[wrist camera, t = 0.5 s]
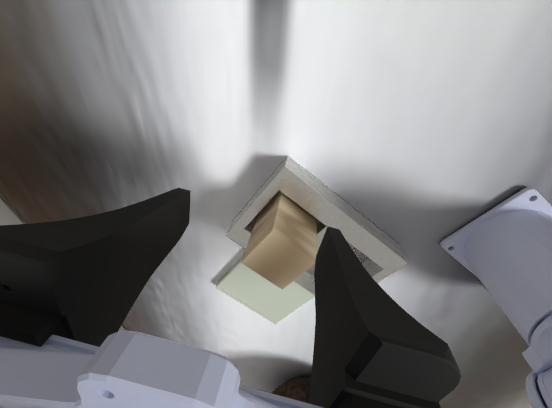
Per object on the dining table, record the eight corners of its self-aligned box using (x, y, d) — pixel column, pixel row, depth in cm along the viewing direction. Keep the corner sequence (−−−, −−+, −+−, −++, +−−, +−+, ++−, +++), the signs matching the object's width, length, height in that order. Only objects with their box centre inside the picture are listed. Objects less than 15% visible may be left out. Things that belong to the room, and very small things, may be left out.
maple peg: (316, 211, 24) (316, 262, 18) (290, 235, 26) (282, 289, 20) (283, 185, 23) (272, 230, 17) (258, 213, 25) (240, 262, 19)
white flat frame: (400, 245, 24) (408, 263, 22) (334, 290, 29) (335, 309, 27) (287, 155, 22) (284, 166, 19) (232, 220, 26) (225, 235, 24)
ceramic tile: (318, 288, 29) (318, 293, 28) (276, 318, 33) (275, 324, 32) (255, 245, 27) (253, 249, 26) (217, 282, 31) (215, 287, 30)
